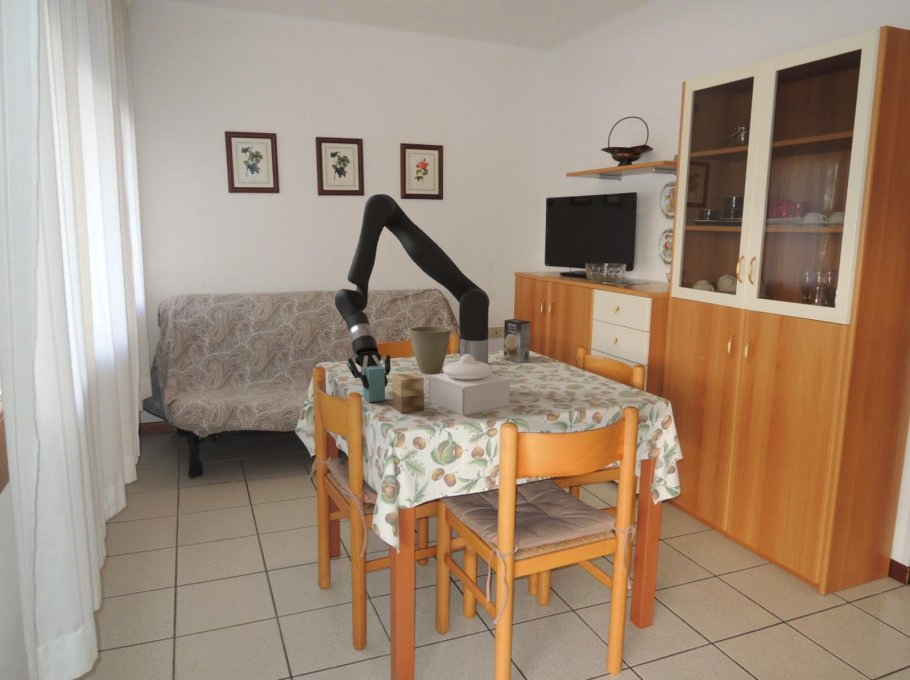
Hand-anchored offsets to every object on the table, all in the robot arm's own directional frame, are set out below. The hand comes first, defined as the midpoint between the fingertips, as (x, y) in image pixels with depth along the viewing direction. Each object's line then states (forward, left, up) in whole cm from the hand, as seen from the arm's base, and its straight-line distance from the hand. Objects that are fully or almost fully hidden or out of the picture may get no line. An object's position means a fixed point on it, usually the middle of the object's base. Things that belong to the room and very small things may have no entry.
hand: (376, 386), depth 203 cm
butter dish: (-28, +5, -5) cm, 29 cm away
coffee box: (-55, -60, -5) cm, 81 cm away
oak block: (-9, +8, 0) cm, 12 cm away
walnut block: (-9, +8, -5) cm, 13 cm away
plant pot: (-19, -41, -5) cm, 45 cm away
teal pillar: (+1, -2, -4) cm, 5 cm away
